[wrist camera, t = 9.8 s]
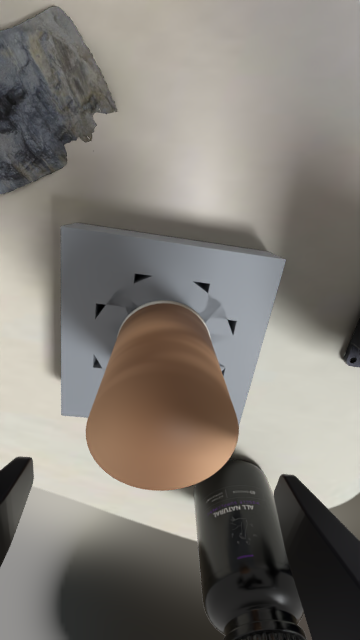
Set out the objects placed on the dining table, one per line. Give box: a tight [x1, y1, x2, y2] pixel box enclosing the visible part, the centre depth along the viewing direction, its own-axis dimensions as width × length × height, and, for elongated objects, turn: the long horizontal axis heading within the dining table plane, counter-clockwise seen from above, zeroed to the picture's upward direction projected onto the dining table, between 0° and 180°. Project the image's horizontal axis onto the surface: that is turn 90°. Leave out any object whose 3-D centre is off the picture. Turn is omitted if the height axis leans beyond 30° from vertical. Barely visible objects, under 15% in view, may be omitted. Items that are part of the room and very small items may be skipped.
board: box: [61, 223, 286, 426], centre depth 19 cm, size 12×12×3 cm
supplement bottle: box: [194, 460, 307, 640], centre depth 21 cm, size 7×7×12 cm
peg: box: [86, 300, 239, 490], centre depth 15 cm, size 6×6×10 cm
